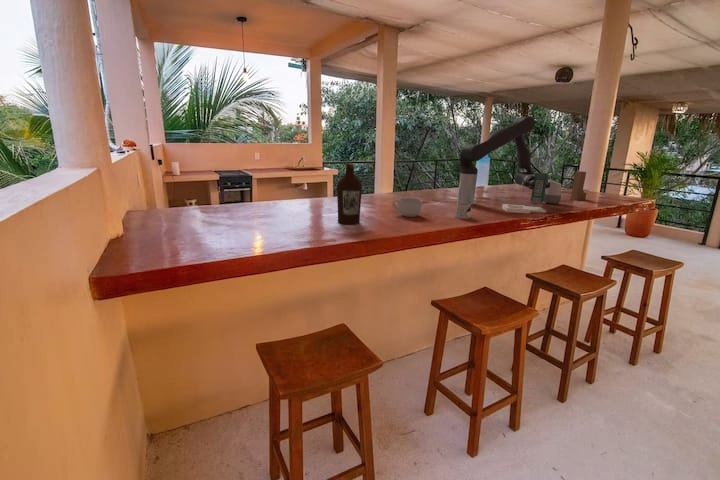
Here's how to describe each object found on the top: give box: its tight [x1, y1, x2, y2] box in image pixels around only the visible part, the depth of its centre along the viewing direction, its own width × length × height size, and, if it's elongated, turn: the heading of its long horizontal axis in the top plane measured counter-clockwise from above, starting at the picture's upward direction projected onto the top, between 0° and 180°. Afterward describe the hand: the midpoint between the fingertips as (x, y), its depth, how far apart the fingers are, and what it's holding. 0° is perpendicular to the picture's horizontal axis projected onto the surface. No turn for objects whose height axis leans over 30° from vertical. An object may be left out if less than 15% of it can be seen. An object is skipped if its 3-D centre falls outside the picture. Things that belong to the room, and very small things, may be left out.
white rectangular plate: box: [525, 205, 547, 214], centre depth 199 cm, size 8×10×1 cm
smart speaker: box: [543, 179, 563, 205], centre depth 219 cm, size 10×9×14 cm
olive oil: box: [336, 163, 363, 226], centre depth 156 cm, size 11×11×25 cm
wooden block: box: [570, 170, 588, 201], centre depth 236 cm, size 9×4×18 cm, turn 116°
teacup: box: [392, 197, 423, 218], centre depth 176 cm, size 14×11×8 cm
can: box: [530, 172, 549, 204], centre depth 195 cm, size 6×6×15 cm
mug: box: [455, 202, 472, 220], centre depth 177 cm, size 10×7×7 cm, turn 160°
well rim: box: [501, 203, 532, 214], centre depth 196 cm, size 12×12×2 cm
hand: (540, 186), depth 194 cm, fingers closed on can, 6 cm apart
